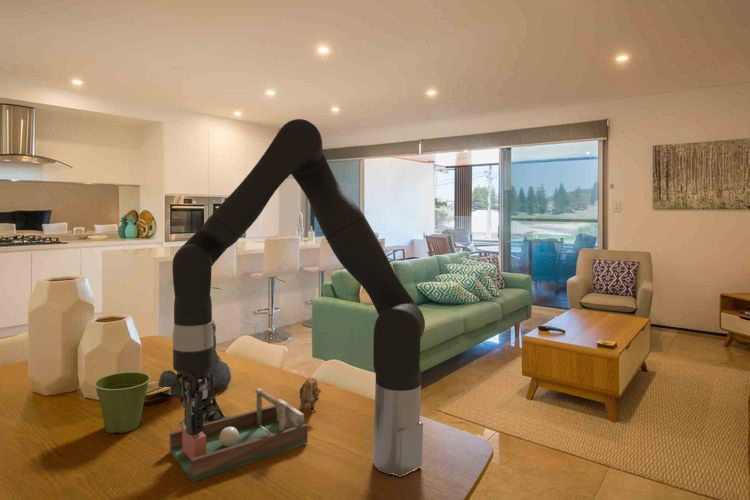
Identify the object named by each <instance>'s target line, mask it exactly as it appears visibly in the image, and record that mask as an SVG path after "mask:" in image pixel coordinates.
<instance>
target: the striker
mask: <svg viewBox="0 0 750 500" xmlns="http://www.w3.org/2000/svg"><path fill="white" fill-rule="evenodd" d="M191 398H192V399H193V398H196V397H191ZM194 405H195V404H194ZM181 430H182V450H183V451H184V453H185V454H186V455H187V456H188V457H189V459H190V460H191V458H194V457H198V456H201V455H204V454H206V435H205V434H204V433H203V432H202V431H201V432H198V433H192V432H191V414H190V404H189V403H188V402H187V399H186V426H182V427H181Z"/></svg>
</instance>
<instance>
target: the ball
mask: <svg viewBox="0 0 750 500" xmlns="http://www.w3.org/2000/svg"><path fill="white" fill-rule="evenodd" d="M238 439H239V433H238V430H237V429H236V428H234V427H226V428H224V429H223V430H222V431H221V433H220V436H219V440H220V442H221V444H222V445H223V446H226V447H231V446H233V445H235V444H236V443H237V441H238Z"/></svg>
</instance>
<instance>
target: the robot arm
mask: <svg viewBox="0 0 750 500" xmlns="http://www.w3.org/2000/svg"><path fill="white" fill-rule="evenodd" d="M323 149H324V148H323V139H322V135H321V132H320V130H319V129H318V127H317V126H316V125H315V123H313V122H312V121H309V120H307V119H304V118H296V119H291V120H290V121H288V122H286V123H285V124H283V125H282V127H281V128H280V129H279V130H278V132H277V134H276V135H275V136H274V138H273V140H271V143H270V144H269V146H268V147H267V149H266V150H265V152H264V153H263V154H262V156H261V158H259V160H258V162H256V164H255V165H254V167H253V168H252V169H251V171H250V172H249V173H248V174H247V175H246V177H245V178H244V179H243V180H242V181H241V182H240V184H238V186H237V187H236V188H235V189H234V191H232V192H231V194H230V195H229V196H228V197H226V199H225V200H224V201H223V202H222V203H221V204H220V205H219V206H218V207H217V208H216V210H214V212H213V213H212V214H211V215H210V216H209V217H208V218H207V220H206V222H204V224H203V225H202V226H201V227H200V228H199V229H198V230H197V231H196V232H195V233H194V234H193V235H191V237H190V238H189V239H188V240H187V241H186V242H184V244H183V245H182V246H180V248H179V249H177V252H176V253H175V254H174V256H173V258H172V265H171V266H172V282H173V292H174V303H173V330H172V369H173V370H174V371H176V375H177V380H178V387H179V395H178V396H179V401H180V403H182V408H184V419H185V425H186V399H187V402H188V403H189V404H190V414H191V432H192V433H198V432H201V431H202V430H203V414H204V413H208V409H209V404H210V398H211V393H212V390H211V388H206V385H207V379H206V377H205V374H204V373H205V371H206V370H208V369H210V368H211V367H212V366H213V327H212V320H213V307H212V305H213V303H212V302H213V301H212V298H211V289H212V287H211V285H212V270H213V269H212V267H213V265H214V264H215V263H216V262H217V261H218V259H220V257H221V256H222V255H223V254H224V253H225V252H226V250H227V249H228V248H230V247H232V246H233V245H234V244H235V243H237V241H239V239H240V238H241V237H242V236H243V235H244V234H245V233H246V232H247V231H248V230H249V229H250V227H251V226H252V225H253V224H254V223H255V221H256V220H257V219H258V218H259V216H260V215H261V213H262V212H263V210H264V209H265V208H266V206H267V204H268V203H269V201H270V200H271V199H272V197H273V196H274V194H275V192H276V191H277V190H278V188H279V187H280V186H281V185H282V184H283V183H284V182H285V181H286V179H288V178H289V176H292V178H293V179H294V180H295V181H296V183H297V185H298V186H299V187H300V189H301V190H302V191H303V193H304V195H305V196H306V199H307V200H308V202H309V205H310V206H311V209H312V212H313V214H314V217H315V219H316V220H317V223H318V225H319V227H320V230H321V231H322V233H323V235H324V236H323V237H325V240H327V244H328V245H329V248H331V250H332V252H333V254H334V256H335V257H336V259H337V260H338V261H339V263H340V264H341V265H342V267H343V268H344V269H345V270H346V271H347V272H348V274H350V275H351V276H352V277H353V278H354V279H355V281H356V282H357V283H359V284H360V286H362V288H363V289H364V290H365V292H366V293H367V295H368V297H369V298H370V300H371V302H372V305H373V306H374V308H375V310H376V313H377V314H378V316H377V318H376V320H375V323H374V327H373V349H372V350H373V358H372V359H373V369H374V370H373V371H374V373H375V386H374V387H375V389H374V390H375V392H374V393H375V394H374V423H373V450H372V452H373V460H372V461H373V462H372V463H374V465H375V466H374V465H373V466H374V468H375V467H376V468H377V469H379V470H381V471H383V472H386V473H394V474H397V475H398V476H402V475H403V474H406V473H407V472H409V471H411V470H413V469H415V468H417V467H420V466H422V465H423V464H422V463H423V439H424V436H423V435H424V423H423V422H421V421H420V417H421V415H420V414H421V398H422V397H421V396H422V395H421V392H422V390H421V389H422V370H421V363H420V362H421V361H420V359H421V338H422V337H423V335H424V331H425V328H426V327H425V326H426V320H425V317H424V314H423V312H422V310H421V309H420V307H419V306H418V305H417V303H416V302H415V301H414V299H413V298H412V296H411V295H410V294H409V292H408V290H407V289H406V288H405V287H404V285H403V284H402V282H401V281H400V279H399V278H398V276H397V275H396V273H395V271H394V269H393V267H392V264H391V263H390V260H389V258H388V256H387V254H386V253H385V251H384V249H383V247H382V245H381V244H380V242H379V240H378V238H377V235H376V234H375V232H374V230H373V228H372V226H371V224H370V222H369V221H368V220H367V218H366V216H365V214H364V213H363V212H362V210H361V208H360V207H359V206H358V205H357V204H356V202H355V201H354V199H352V197H351V196H350V195H349V194H348V193H347V192H346V190H344V189H343V187H342V186H341V185H340V183H339V181H338V180H337V178H336V176H335V174H334V172H333V171H332V169H331V166H330V164H329V162H328V161H327V157H326V155H325V153H324V150H323ZM177 372H180V373H177ZM191 397H196V398H193V399H192V398H191ZM194 404H195V405H194ZM376 468H375V469H376ZM377 469H376V470H377ZM379 470H378V471H379Z"/></svg>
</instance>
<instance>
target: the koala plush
mask: <svg viewBox="0 0 750 500" xmlns="http://www.w3.org/2000/svg"><path fill="white" fill-rule="evenodd" d="M216 326H217V323H216V322H215V321H214V320H213V319H212V327H213V366H212V370H213V387H214V391H219V390H224V389H225V388H226V387H228V386H229V384H230V382H231V381H232V374H231V369H230V367H229V365H228V364H227V363H226V362H224V361H222V360H221V358H220V356H219V354H218V352H217V350H216V348H217V338H216V336H217V335H216V332H217V327H216ZM210 370H211V368H210V369H208V370H206V371H205V373H204V374H205V377H206V379H207V385H206V388H210ZM177 373H180V372H177V371H176V372H174V371H173V370H170V369H168V370H164V371H162V372H161V374H160V376H159V380H158V386H159V387H171V394H172V395H171V396H180V395H179V387H178V380H177ZM158 386H157V387H158Z"/></svg>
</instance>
